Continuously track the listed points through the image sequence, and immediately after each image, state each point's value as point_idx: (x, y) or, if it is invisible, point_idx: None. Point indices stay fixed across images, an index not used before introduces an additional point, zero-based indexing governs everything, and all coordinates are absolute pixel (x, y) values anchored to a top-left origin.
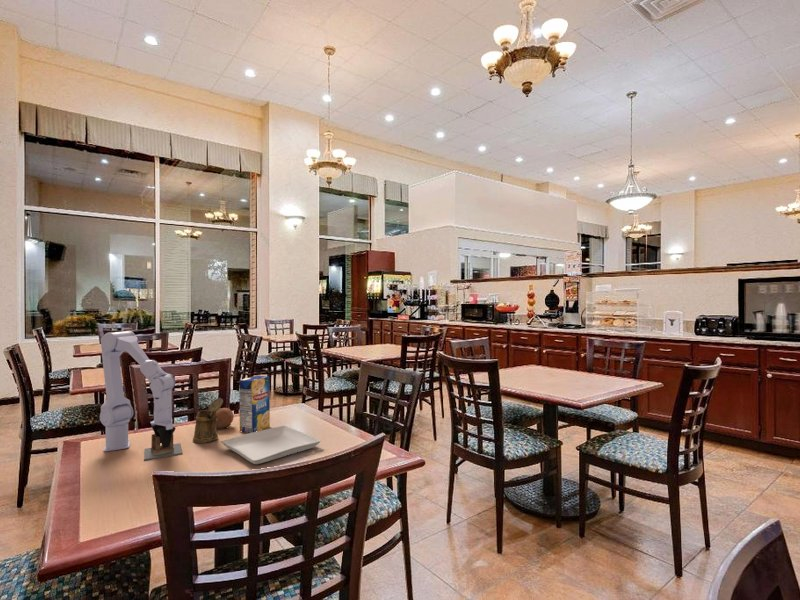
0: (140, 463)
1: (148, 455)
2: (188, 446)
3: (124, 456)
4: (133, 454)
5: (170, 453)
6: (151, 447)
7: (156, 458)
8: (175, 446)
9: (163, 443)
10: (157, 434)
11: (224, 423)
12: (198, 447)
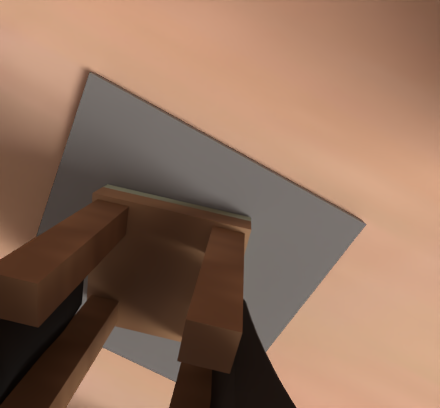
0: (52, 15)
1: (156, 147)
2: (141, 391)
3: (384, 21)
4: (350, 106)
5: None
6: (243, 234)
7: (67, 159)
8: None
9: None
10: (229, 383)
11: None
12: (73, 402)
